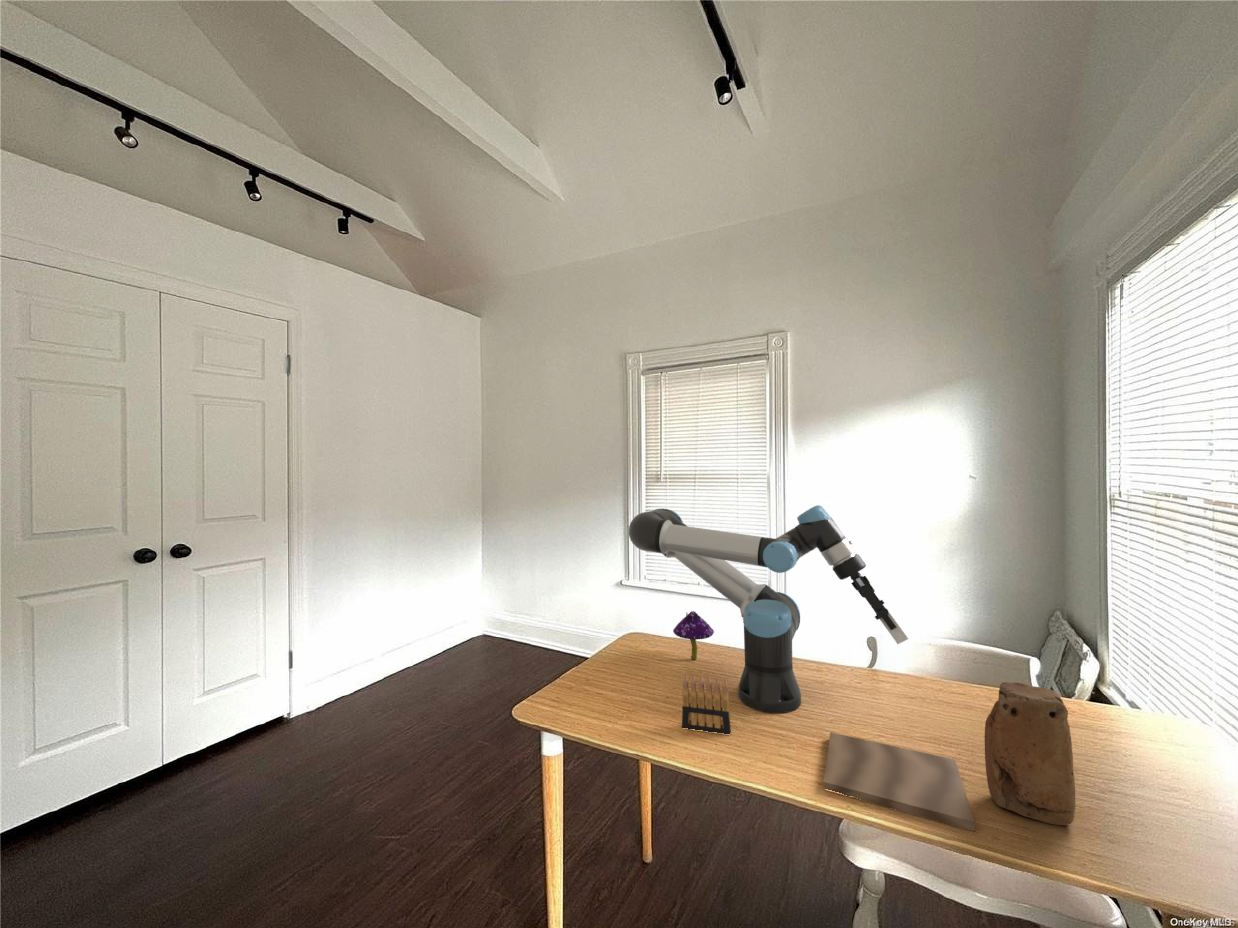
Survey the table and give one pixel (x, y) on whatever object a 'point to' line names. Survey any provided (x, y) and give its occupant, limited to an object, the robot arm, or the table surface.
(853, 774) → the walnut board
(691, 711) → the ammunition clip
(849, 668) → the table surface
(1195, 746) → the table surface
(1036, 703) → the block
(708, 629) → the decorative mushroom
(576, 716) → the table surface
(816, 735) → the table surface
